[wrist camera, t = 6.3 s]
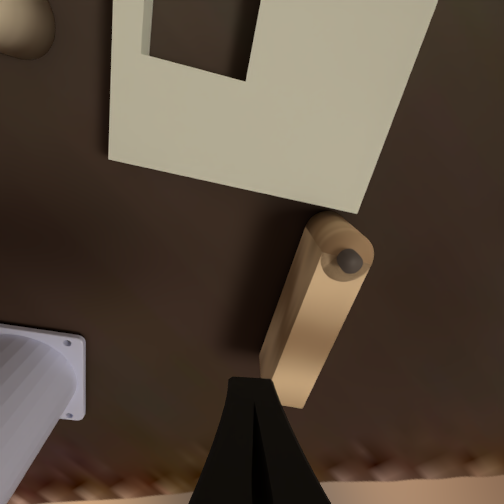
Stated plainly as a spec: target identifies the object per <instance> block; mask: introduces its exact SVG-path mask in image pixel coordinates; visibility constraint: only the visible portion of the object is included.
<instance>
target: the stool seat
mask: <svg viewBox="0 0 504 504" xmlns="http://www.w3.org/2000/svg"><path fill="white" fill-rule="evenodd" d="M437 2H438V0H261V3H260V8H259V13H258V18H257V24H256V29H255V34H254V40H253V45H252V50H251V55H250V61H249V66H248V71H247V77H246V82H245V81H241V80H237V79H234V78H230V77H226V76H222V75H219V74H215V73H211V72H207V71H204V70H200V69H196V68H192V67H189V66H185V65H181V64H177V63H174V62H170V61H166V60H162V59H159V58H155V57H151V56H149V50H150V36H151V23H152V9H153V0H113V19H112V52H111V86H110V119H109V153H108V159H109V160H114V161H118V162H123V163H127V164H132V165H136V166H141V167H146V168H150V169H155V170H159V171H164V172H168V173H173V174H178V175H182V176H187V177H191V178H196V179H200V180H205V181H209V182H214V183H219V184H223V185H228V186H232V187H237V188H241V189H246V190H250V191H255V192H260V193H264V194H269V195H273V196H278V197H282V198H287V199H291V200H296V201H301V202H305V203H310V204H314V205H319V206H323V207H328V208H332V209H337V210H342V211H346V212H351V213H355V214H357V213H358V210H359V208H360V205H361V202H362V200H363V197H364V194H365V192H366V189H367V187H368V184H369V181H370V179H371V176H372V173H373V171H374V168H375V166H376V163H377V160H378V158H379V155H380V152H381V150H382V147H383V144H384V142H385V139H386V137H387V134H388V131H389V129H390V126H391V123H392V121H393V118H394V115H395V113H396V110H397V108H398V105H399V102H400V100H401V97H402V94H403V92H404V89H405V86H406V84H407V81H408V79H409V76H410V73H411V71H412V68H413V65H414V63H415V60H416V58H417V55H418V52H419V50H420V47H421V44H422V42H423V39H424V36H425V34H426V31H427V29H428V26H429V23H430V21H431V18H432V15H433V13H434V10H435V7H436V5H437Z"/></svg>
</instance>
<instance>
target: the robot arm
mask: <svg viewBox="0 0 504 504" xmlns="http://www.w3.org/2000/svg"><path fill="white" fill-rule="evenodd" d="M67 340H68V341H70V342H68V341H67ZM85 413H86V342H85V339H84V338H83V337H82V336H80V335H75V334H68V333H62V332H55V331H48V330H41V329H34V328H27V327H20V326H13V325H6V324H0V504H7V503H8V501H9V499H10V498H11V496H12V494H13V493H14V491H15V490H16V488H17V486H18V485H19V483H20V482H21V480H22V478H23V477H24V475H25V473H26V472H27V470H28V469H29V467H30V465H31V464H32V462H33V461H34V459H35V457H36V456H37V454H38V452H39V451H40V449H41V448H42V446H43V444H44V443H45V441H46V440H47V438H48V436H49V435H50V433H51V432H52V430H53V428H54V427H55V425H56V423H57V422H58V420H59V419H69V420H81V419H83V417H84V415H85ZM189 504H331V502H330V501H329V499H328V497H327V496H326V494H325V492H324V490H323V489H322V487H321V485H320V483H319V481H318V479H317V478H316V476H315V474H314V472H313V470H312V468H311V466H310V465H309V463H308V461H307V459H306V457H305V455H304V453H303V451H302V449H301V447H300V445H299V443H298V441H297V438H296V436H295V434H294V432H293V430H292V428H291V426H290V424H289V421H288V419H287V417H286V414H285V412H284V410H283V407H282V405H281V402H280V400H279V397H278V395H277V392H276V389H275V386H274V383H273V381H272V380H271V379H264V378H246V377H232V378H230V379H229V382H228V391H227V397H226V402H225V406H224V410H223V413H222V417H221V420H220V423H219V426H218V429H217V432H216V435H215V438H214V441H213V444H212V447H211V450H210V452H209V455H208V458H207V460H206V463H205V465H204V468H203V470H202V473H201V475H200V478H199V480H198V483H197V485H196V487H195V490H194V492H193V494H192V497H191V499H190V501H189Z"/></svg>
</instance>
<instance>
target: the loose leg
mask: <svg viewBox="0 0 504 504" xmlns="http://www.w3.org/2000/svg"><path fill="white" fill-rule="evenodd" d="M54 37H55V20H54V15H53V12H52V9H51V6H50V4H49V2H48V0H0V53H3V54H6V55H9V56H12V57H16V58H19V59H23V60H33V59H37V58H40V57H42V56H43V55H44V54H46V53H47V52H48V51H49V49H50V48H51V46H52V44H53V41H54Z"/></svg>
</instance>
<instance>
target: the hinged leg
mask: <svg viewBox="0 0 504 504" xmlns="http://www.w3.org/2000/svg"><path fill="white" fill-rule="evenodd" d="M373 258H374V250H373V246H372V244H371V243H370V241H369V240H368V239H367V238H366V237H365V236H363V235H362V234H361V233H360V232H359V231H358V230H357V229H355V228H354V227H353V226H352V225H351V224H350V223H349V222H347V221H346V220H345V219H344V218H343V217H342V216H341V215H339V214H338V213H336V212H333V211H322V212H319V213H317V214H315V215H314V216H313V217H311V218H310V219H309V221H308V222H307V224H306V226H305V229H304V232H303V234H302V237H301V240H300V243H299V246H298V248H297V251H296V254H295V257H294V260H293V262H292V265H291V268H290V271H289V273H288V276H287V279H286V282H285V285H284V287H283V290H282V293H281V296H280V298H279V301H278V304H277V307H276V310H275V312H274V315H273V318H272V321H271V324H270V326H269V329H268V332H267V335H266V337H265V340H264V343H263V346H262V349H261V351H260V354H259V362H260V374H261V378H264V379H271V380H272V381H273V383H274V386H275V389H276V392H277V395H278V397H279V400H280V402H281V405H283V406H290V407H296V408H302V409H303V406H304V404H305V402H306V400H307V398H308V396H309V394H310V392H311V390H312V388H313V386H314V383H315V381H316V379H317V377H318V375H319V373H320V371H321V369H322V367H323V365H324V363H325V360H326V358H327V356H328V354H329V352H330V350H331V348H332V346H333V344H334V342H335V340H336V338H337V335H338V333H339V331H340V329H341V327H342V325H343V323H344V321H345V319H346V317H347V315H348V312H349V310H350V308H351V306H352V304H353V302H354V300H355V298H356V296H357V294H358V292H359V289H360V287H361V285H362V283H363V281H364V279H365V277H366V275H367V273H368V271H369V269H370V266H371V264H372V262H373Z"/></svg>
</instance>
